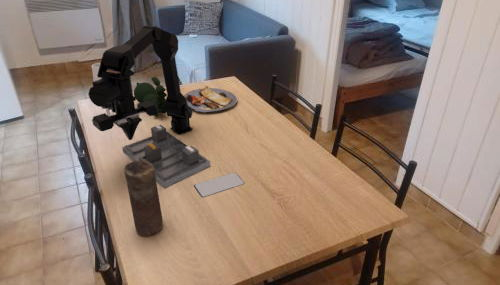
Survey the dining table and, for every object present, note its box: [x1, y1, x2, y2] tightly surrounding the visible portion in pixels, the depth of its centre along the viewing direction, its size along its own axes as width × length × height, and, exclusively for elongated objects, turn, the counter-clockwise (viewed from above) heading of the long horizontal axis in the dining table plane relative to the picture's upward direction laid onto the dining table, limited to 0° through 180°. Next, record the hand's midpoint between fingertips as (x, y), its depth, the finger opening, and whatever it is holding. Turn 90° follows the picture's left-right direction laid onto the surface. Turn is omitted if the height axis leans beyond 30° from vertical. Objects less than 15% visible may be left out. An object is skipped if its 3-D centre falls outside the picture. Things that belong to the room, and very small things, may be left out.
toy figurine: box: [133, 76, 167, 117], centre depth 157 cm, size 9×19×25 cm
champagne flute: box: [91, 62, 111, 116], centre depth 146 cm, size 7×7×24 cm
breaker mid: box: [144, 143, 162, 163], centre depth 124 cm, size 4×4×5 cm
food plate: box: [183, 86, 238, 113], centre depth 168 cm, size 25×23×4 cm
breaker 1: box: [150, 124, 168, 142], centre depth 135 cm, size 4×4×5 cm
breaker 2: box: [182, 145, 200, 166], centre depth 123 cm, size 4×4×5 cm
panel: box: [121, 130, 211, 189], centre depth 128 cm, size 18×28×3 cm, turn 43°
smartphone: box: [193, 172, 245, 198], centre depth 117 cm, size 7×1×15 cm
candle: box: [123, 160, 164, 237], centre depth 95 cm, size 8×7×20 cm
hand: (130, 139), depth 115 cm, fingers closed
